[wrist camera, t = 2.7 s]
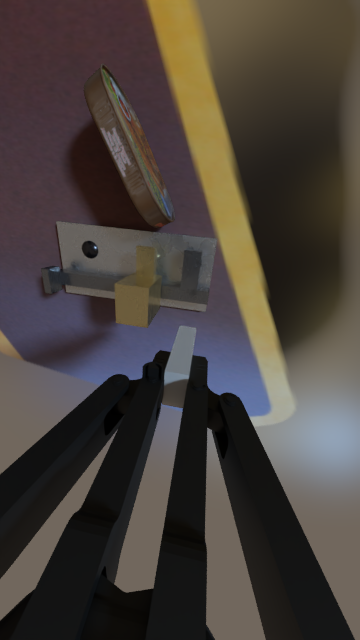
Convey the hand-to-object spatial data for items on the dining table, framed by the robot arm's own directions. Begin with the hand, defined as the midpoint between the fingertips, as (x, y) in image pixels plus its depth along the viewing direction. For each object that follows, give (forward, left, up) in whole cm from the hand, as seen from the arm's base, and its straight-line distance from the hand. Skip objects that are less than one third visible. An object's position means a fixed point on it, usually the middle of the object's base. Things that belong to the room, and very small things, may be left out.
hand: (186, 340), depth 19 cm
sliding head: (-2, -7, -14) cm, 16 cm away
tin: (-16, -9, -16) cm, 24 cm away
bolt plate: (-3, -10, -16) cm, 19 cm away
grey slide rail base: (-2, -10, -15) cm, 18 cm away
